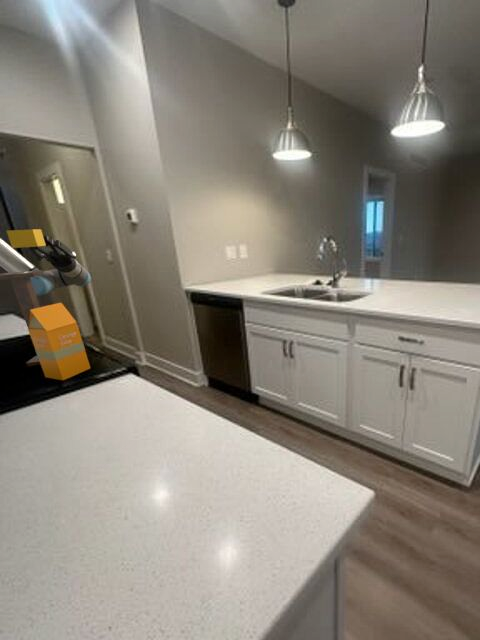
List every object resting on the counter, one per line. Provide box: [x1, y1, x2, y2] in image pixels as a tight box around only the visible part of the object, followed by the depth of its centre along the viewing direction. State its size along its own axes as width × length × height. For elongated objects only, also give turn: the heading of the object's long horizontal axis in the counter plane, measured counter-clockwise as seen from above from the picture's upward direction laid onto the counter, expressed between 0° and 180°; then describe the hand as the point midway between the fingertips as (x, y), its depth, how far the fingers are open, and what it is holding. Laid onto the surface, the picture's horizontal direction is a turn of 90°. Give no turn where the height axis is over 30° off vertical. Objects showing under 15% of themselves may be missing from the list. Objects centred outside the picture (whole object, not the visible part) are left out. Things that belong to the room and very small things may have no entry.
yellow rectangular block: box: [6, 228, 47, 249], centre depth 112 cm, size 7×14×5 cm, turn 14°
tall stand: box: [0, 269, 43, 367], centre depth 106 cm, size 10×6×28 cm, turn 104°
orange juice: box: [27, 302, 91, 381], centre depth 97 cm, size 8×9×20 cm
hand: (31, 233), depth 112 cm, fingers closed on yellow rectangular block, 2 cm apart
